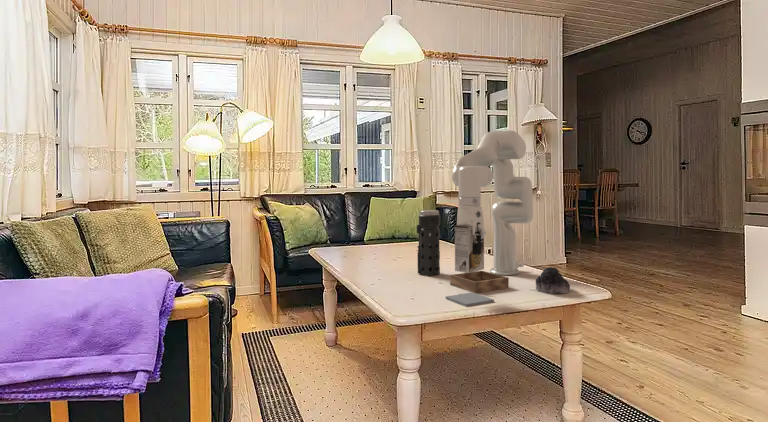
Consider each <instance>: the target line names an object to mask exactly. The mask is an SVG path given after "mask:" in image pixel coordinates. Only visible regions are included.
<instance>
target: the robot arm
mask: <svg viewBox="0 0 768 422" xmlns="http://www.w3.org/2000/svg"><path fill="white" fill-rule="evenodd" d="M526 145H527V144H526V142H525V140H524V139H523V137H522V136H521V135H520V133H518V132H517V131H515V130H512V129H511V130H492V131H488V132H486V133H485V134H484V135H483V136H482V137H481V140H480V142H479V144H478V146H477V148H476V149H474V150H472V151H470V152H468V153H466V154H464V155H462V156H461V157H460V158H459V159H458V160H457V162H456V164H455V165H454V167H453V170H452V174H451V181H452V183H453V184H454V185H455V186H456V187H458V206H457V215H456V216H457V217H456V225H466V226H471V228H472V235H473V241H474V243H473V254H474V255H477V254H481V243H482V240H483V239H484V240H485V236H486V234H487V232H486V231H487V230H485V223H484V211H483V207H482V206H481V204H482V203H481V198H482V197H481V191H482V189H481V187H482V188H486V187H488V186H490V185H491V183H492V182H493V190H494V191H493V192H494V195H495V197H497V198H498V199H503V200H500V201H496V202H495V203H494V204H493V205H492V206H491V217H492V223H493V267H491V268H490V269H489V273H493V274H496V275H500V276H515V275H518V274H520V270H519V268H523V267H524V266H525V264H524V262H518V261H516V259H517V254H516V252H517V247H516V246H517V233H516V230H515V229H514V227H513V226H512V224H525V225H526V224H529V223H531V222H532V220H533V218H534V202H533V201H534V200H533V199H534V197H533V196H534V195H533V193H534V192H533V184H532V181H531V179H530V178H529V177H527V176H515V175H514V173H515V172H514V164H513V162H512V161H511V160H521V159H523V158H524V157H525V156H526V153H527V146H526ZM490 166H492V169H491V168H490ZM505 199H506V200H505ZM513 200H520V201H513ZM453 229H454V230H455V226H454V228H453ZM475 231H476V232H477V234H475ZM476 236H477V239H476Z"/></svg>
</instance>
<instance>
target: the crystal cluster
mask: <svg viewBox="0 0 768 422" xmlns="http://www.w3.org/2000/svg"><path fill="white" fill-rule="evenodd" d="M535 289H536V290H537V292H538V293H545V294H568V293H569V292H570V291H571V285H570V283H569V281H568V279H565V278H564V276H563V275H562V274H561V273H560V272H559V269H557V268H556V267H551V266H550V267H546V268H544V269H543V271H542V272H541V274H540V275H539V276H537V277H536V279H535Z"/></svg>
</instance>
